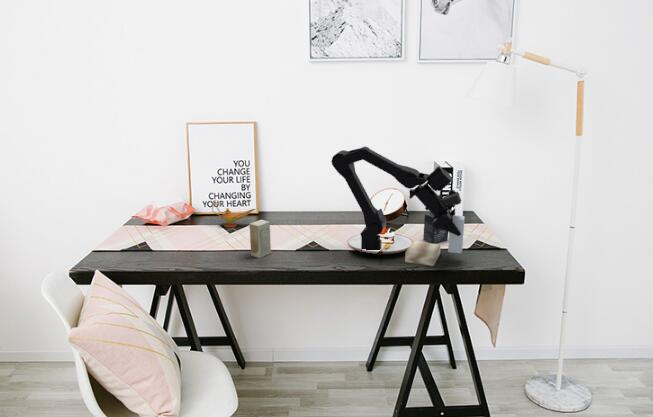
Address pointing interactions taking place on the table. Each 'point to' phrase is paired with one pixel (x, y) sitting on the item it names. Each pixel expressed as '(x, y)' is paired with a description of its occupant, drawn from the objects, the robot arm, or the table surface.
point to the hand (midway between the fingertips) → (460, 232)
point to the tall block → (454, 240)
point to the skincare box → (260, 238)
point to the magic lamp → (231, 216)
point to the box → (433, 231)
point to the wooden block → (422, 253)
